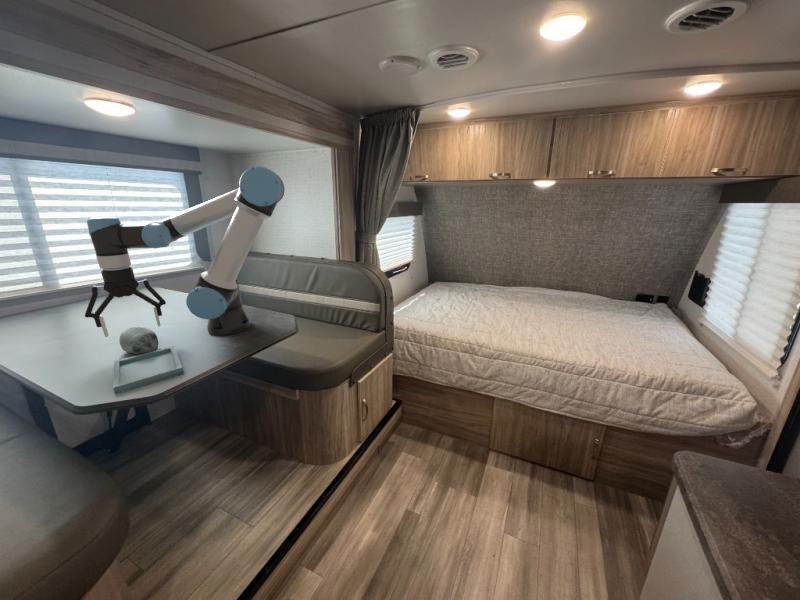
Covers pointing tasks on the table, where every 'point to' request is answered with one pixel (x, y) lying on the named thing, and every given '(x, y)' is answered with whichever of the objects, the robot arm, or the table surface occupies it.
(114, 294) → the robot arm
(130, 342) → the streaked grey egg
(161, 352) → the tray
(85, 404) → the table surface
